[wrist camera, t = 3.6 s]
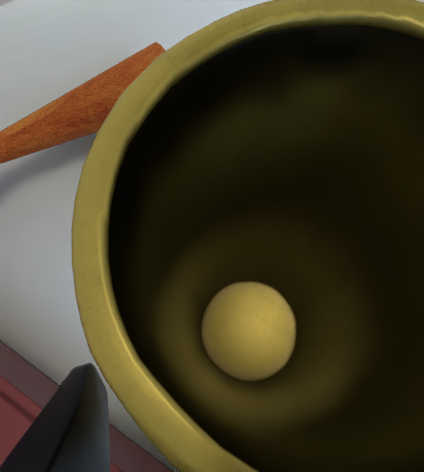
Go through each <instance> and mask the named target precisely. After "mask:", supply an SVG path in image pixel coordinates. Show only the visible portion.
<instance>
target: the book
mask: <svg viewBox="0 0 424 472" xmlns="http://www.w3.org/2000/svg"><path fill="white" fill-rule="evenodd" d="M59 387H60V386H59V385H58V384H56V383H55V382H54V381H52V380H51V379H50V378H48V377H47V376H46V375H44V374H43V373H42V372H40V371H39V370H38V369H36V368H35V367H34V366H33V365H31V364H30V363H29V362H27V361H26V360H25V359H23V358H22V357H21V356H19V355H18V354H17V353H15V352H14V351H13V350H11V349H10V348H9V347H7V346H6V345H5V344H3V343H2V342H1V341H0V466H1V464H2V463H3V462H4V460H5V459H6V458H7V456H8V455H9V454H10V452H11V451H12V450H13V448H14V447H15V446H16V444H17V443H18V442H19V440H20V439H21V438H22V436H23V435H24V433H25V432H26V431H27V429H28V428H29V427H30V425H31V424H32V423H33V421H34V420H35V419H36V417H37V416H38V415H39V413H40V412H41V411H42V409H43V408H44V407H45V405H46V404H47V403H48V401H49V400H50V399H51V397H52V396H53V395H54V393H55V392H56V391H57V389H58V388H59ZM109 440H110V472H172V471H171V470H170V469H168V468H167V467H166V466H164V465H163V464H162V463H160V462H159V461H158V460H156V459H155V458H154V457H153V456H151V455H150V454H149V453H147V452H146V451H145V450H143V449H142V448H141V447H139V446H138V445H137V444H135V443H134V442H133V441H131V440H130V439H129V438H127V437H126V436H125V435H124V434H122V433H121V432H120V431H118V430H117V429H116V428H114V427H113V426H112V425H110V424H109Z"/></svg>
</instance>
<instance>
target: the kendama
mask: <svg viewBox="0 0 424 472" xmlns="http://www.w3.org/2000/svg"><path fill="white" fill-rule="evenodd" d="M164 52H165V50H164V48H163V47H162V46H161V45H160V44H158V43H156V42H155V43H153V44H151V45H150V46H148V47H146V48H145V49H143V50H141V51H139V52H138V53H136V54H134V55H132V56H131V57H129V58H127V59H125V60H124V61H122V62H120V63H119V64H117V65H115V66H113V67H112V68H110V69H108V70H106V71H105V72H103V73H101V74H99V75H98V76H96V77H94V78H92V79H91V80H89V81H87V82H86V83H84V84H82V85H80V86H79V87H77V88H75V89H73V90H72V91H70V92H68V93H66V94H65V95H63V96H61V97H60V98H58V99H56V100H54V101H53V102H51V103H49V104H47V105H46V106H44V107H42V108H40V109H39V110H37V111H35V112H34V113H32V114H30V115H28V116H27V117H25V118H23V119H21V120H20V121H18V122H16V123H14V124H13V125H11V126H9V127H7V128H6V129H4V130H2V131H1V132H0V164H1V163H4V162H7V161H10V160H13V159H16V158H19V157H22V156H25V155H28V154H31V153H34V152H37V151H40V150H43V149H47V148H50V147H53V146H56V145H59V144H62V143H65V142H68V141H71V140H74V139H77V138H80V137H83V136H86V135H89V134H92V133H95V132H98V131H99V129H100V128H101V126H102V124H103V123H104V121H105V119H106V118H107V116H108V115H109V113H110V111H111V110H112V108H113V107H114V105H115V103H116V102H117V100H118V98H119V97H120V96H121V94H122V93H123V92H124V91H125V89H126V88H127V87H128V86H129V85H130V84H131V83H132V82H133V81H134V80H135V79H136V78H137V77H138V76H139V75H140V74H141V73H142V72H143V71H144V70H145V69H146V68H147V67H148V66H149V65H150V64H151V63H152V62H153V61H154V60H155V59H156V58H157V57H158V56H160V55H161V54H163V53H164Z"/></svg>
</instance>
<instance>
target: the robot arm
mask: <svg viewBox="0 0 424 472" xmlns="http://www.w3.org/2000/svg"><path fill="white" fill-rule="evenodd" d="M0 472H110V440H109V420H108V400H107V392H106V388H105V386H104V384H103V382H102V380H101V378H100V376H99V374H98V372H97V370H96V368H95V366H94V365H93V364H91V363H88V364H85V365H81V366H78V367H75V368H74V369H72V371H71V372H70V373H69V375H68V376H67V377H66V379H65V380H64V381H63V383H62V384H61V385H60V387H59V388H58V389H57V391H56V392H55V393H54V395H53V396H52V397H51V399H50V400H49V401H48V403H47V404H46V405H45V407H44V408H43V409H42V411H41V412H40V413H39V415H38V416H37V417H36V419H35V420H34V421H33V423H32V424H31V425H30V427H29V428H28V429H27V431H26V432H25V433H24V435H23V436H22V438H21V439H20V440H19V442H18V443H17V444H16V446H15V447H14V448H13V450H12V451H11V452H10V454H9V455H8V456H7V458H6V459H5V460H4V462H3V463H2V464H1V466H0Z"/></svg>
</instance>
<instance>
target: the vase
mask: <svg viewBox="0 0 424 472" xmlns="http://www.w3.org/2000/svg"><path fill="white" fill-rule="evenodd" d="M72 268H73V276H74V285H75V294H76V300H77V304H78V309H79V314H80V319H81V324H82V327H83V330H84V333H85V337H86V340H87V343H88V346H89V349H90V352H91V354H92V356H93V358H94V360H95V361H96V363H97V365H98V367H99V369H100V371H101V373H102V374H103V376H104V378H105V380H106V381H107V383H108V384H109V386H110V387H111V389H112V390H113V392H114V393H115V394H116V396H117V397H118V399H119V400H120V402H121V403H122V405H123V406H124V407H125V409H126V410H127V412H128V413H129V414H130V416H131V417H132V418H133V420H134V421H135V422H136V423H137V425H138V426H139V427H140V429H141V430H142V431H143V433H144V434H145V435H146V437H147V438H148V439H149V440H150V441H151V442H152V443H153V445H154V446H155V447H156V448H157V449H158V450H159V451H160V452H161V453H162V454H163V456H164V457H165V458H166V459H167V460H168V461H169V462H170V463H171V464H172V465H173V466H174V467H176V468H177V469H178V470H179V471H181V472H424V3H423V2H420V1H416V0H273V1H268V2H264V3H261V4H257V5H254V6H251V7H248V8H245V9H242V10H239V11H237V12H234V13H232V14H230V15H228V16H226V17H223V18H221V19H219V20H217V21H215V22H213V23H211V24H209V25H208V26H206V27H204V28H202V29H200V30H199V31H197V32H195V33H193V34H191V35H189V36H188V37H186V38H185V39H183V40H182V41H180V42H179V43H177V44H176V45H174V46H173V47H171V48H170V49H168V50H167V51H165V52H164V53H163V54H161V55H160V56H158V57H157V58H156V59H155V60H154V61H153V62H152V63H151V64H150V65H149V66H148V67H147V68H146V69H145V70H144V71H143V72H142V73H141V74H140V75H139V76H138V77H137V78H136V79H135V80H134V81H133V82H132V83H131V84H130V85H129V86H128V87H127V88H126V89H125V91H124V92H123V93H122V94H121V96H120V97H119V98H118V100H117V102H116V103H115V105H114V107H113V108H112V110H111V111H110V113H109V115H108V116H107V118H106V119H105V121H104V123H103V124H102V126H101V128H100V129H99V131H98V132H97V135H96V137H95V140H94V142H93V144H92V147H91V149H90V152H89V154H88V156H87V159H86V161H85V164H84V166H83V169H82V173H81V177H80V181H79V185H78V189H77V193H76V197H75V203H74V212H73V221H72Z"/></svg>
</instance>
